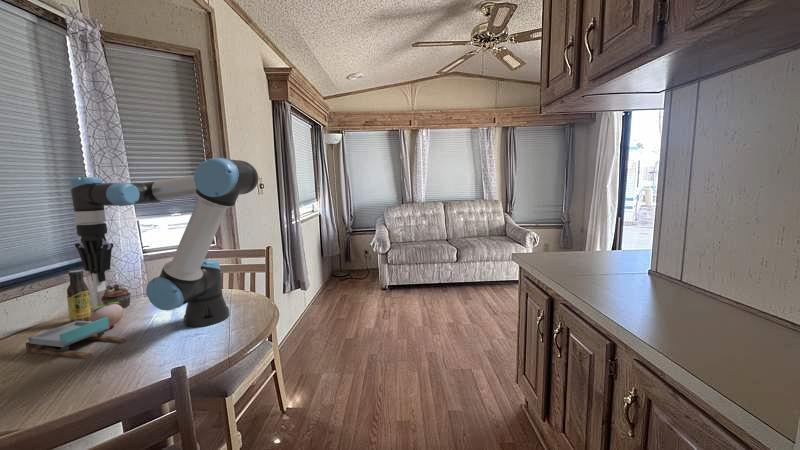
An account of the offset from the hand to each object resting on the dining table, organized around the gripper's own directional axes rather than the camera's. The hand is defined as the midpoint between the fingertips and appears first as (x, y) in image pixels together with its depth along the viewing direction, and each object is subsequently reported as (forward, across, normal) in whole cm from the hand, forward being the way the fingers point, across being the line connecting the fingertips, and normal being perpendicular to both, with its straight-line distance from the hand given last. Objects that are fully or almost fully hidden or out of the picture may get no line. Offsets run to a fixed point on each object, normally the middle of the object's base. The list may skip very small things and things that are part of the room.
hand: (100, 290), depth 114 cm
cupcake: (+16, +21, -22) cm, 35 cm away
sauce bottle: (+16, +21, -8) cm, 28 cm away
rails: (+16, -1, +9) cm, 18 cm away
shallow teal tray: (+14, +2, +9) cm, 17 cm away
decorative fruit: (+16, +3, -4) cm, 17 cm away
